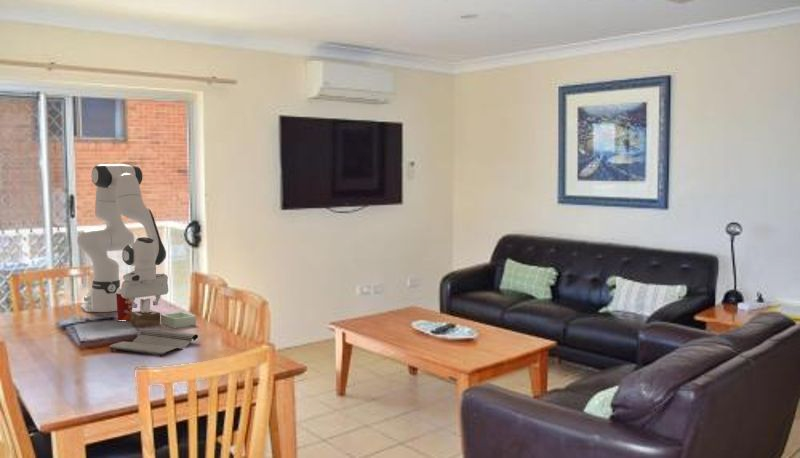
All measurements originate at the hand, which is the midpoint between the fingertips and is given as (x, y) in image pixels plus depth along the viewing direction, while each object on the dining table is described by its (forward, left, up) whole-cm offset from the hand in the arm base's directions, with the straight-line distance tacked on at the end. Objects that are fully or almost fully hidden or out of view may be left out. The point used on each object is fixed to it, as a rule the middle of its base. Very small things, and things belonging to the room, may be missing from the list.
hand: (145, 306), depth 290 cm
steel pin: (0, 0, -8) cm, 8 cm away
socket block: (0, 0, -8) cm, 8 cm away
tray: (+9, +11, -8) cm, 16 cm away
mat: (+39, -15, -8) cm, 43 cm away
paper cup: (-12, -3, -8) cm, 15 cm away
